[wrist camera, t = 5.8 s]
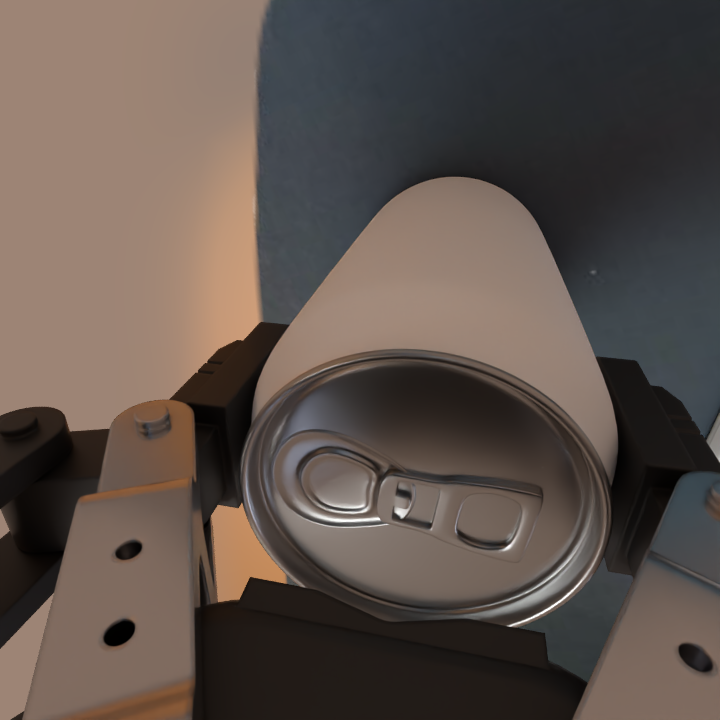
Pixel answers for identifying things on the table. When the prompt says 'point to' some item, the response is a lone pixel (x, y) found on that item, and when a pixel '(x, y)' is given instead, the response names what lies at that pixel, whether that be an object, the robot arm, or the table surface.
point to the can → (436, 421)
